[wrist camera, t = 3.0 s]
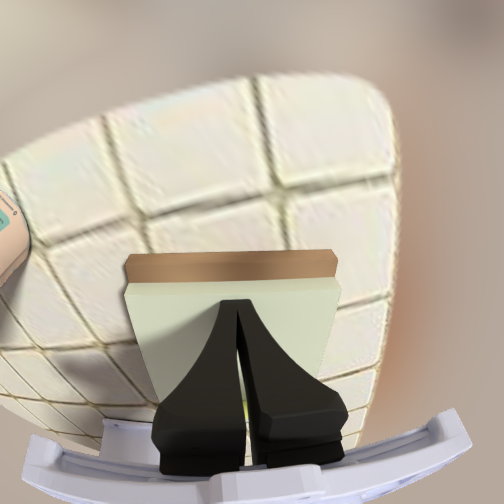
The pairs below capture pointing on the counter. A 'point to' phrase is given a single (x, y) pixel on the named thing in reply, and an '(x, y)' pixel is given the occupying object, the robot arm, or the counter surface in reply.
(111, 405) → the counter surface
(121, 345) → the counter surface
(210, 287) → the plate
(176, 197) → the counter surface
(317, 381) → the robot arm
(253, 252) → the walnut base
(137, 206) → the counter surface
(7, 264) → the beer can
